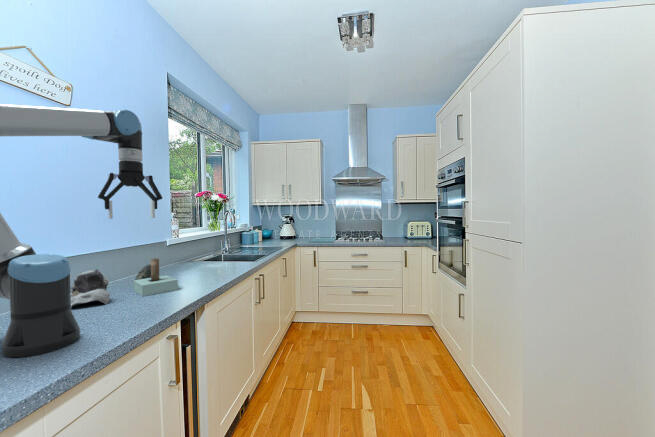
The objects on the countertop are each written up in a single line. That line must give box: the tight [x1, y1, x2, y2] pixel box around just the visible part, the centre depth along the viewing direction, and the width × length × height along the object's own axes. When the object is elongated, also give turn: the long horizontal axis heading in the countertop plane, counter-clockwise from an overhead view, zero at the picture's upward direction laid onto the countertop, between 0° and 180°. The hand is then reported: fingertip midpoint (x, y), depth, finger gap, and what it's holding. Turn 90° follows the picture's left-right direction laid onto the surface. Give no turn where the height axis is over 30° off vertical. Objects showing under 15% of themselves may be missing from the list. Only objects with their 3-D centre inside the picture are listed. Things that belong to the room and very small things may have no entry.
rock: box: [132, 263, 151, 285], centre depth 144 cm, size 12×10×10 cm
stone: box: [70, 269, 111, 309], centre depth 116 cm, size 14×10×15 cm
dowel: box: [150, 258, 160, 282], centre depth 135 cm, size 3×3×14 cm
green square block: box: [133, 274, 179, 297], centre depth 135 cm, size 14×14×4 cm
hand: (132, 218), depth 113 cm, fingers open, 13 cm apart
